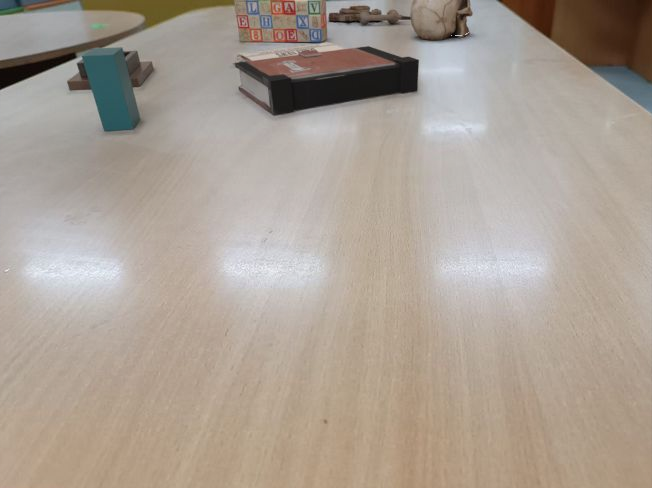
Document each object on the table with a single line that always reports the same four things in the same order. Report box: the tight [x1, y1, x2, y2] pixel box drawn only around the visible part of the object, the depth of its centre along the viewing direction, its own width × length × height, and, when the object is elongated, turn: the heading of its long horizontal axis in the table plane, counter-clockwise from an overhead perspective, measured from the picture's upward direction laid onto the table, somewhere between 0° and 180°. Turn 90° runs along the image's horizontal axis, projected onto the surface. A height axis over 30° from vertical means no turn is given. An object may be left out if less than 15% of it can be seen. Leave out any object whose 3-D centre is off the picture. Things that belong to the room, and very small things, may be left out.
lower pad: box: [66, 50, 154, 91], centre depth 96 cm, size 12×14×4 cm
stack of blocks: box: [233, 0, 328, 43], centre depth 125 cm, size 21×6×12 cm, turn 80°
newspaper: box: [232, 41, 346, 65], centre depth 108 cm, size 23×12×2 cm, turn 126°
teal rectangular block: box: [81, 46, 141, 132], centre depth 71 cm, size 4×5×10 cm
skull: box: [409, 0, 474, 41], centre depth 127 cm, size 16×17×13 cm
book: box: [234, 45, 420, 116], centre depth 87 cm, size 26×18×5 cm
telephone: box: [328, 5, 411, 25], centre depth 149 cm, size 15×33×4 cm, turn 87°
